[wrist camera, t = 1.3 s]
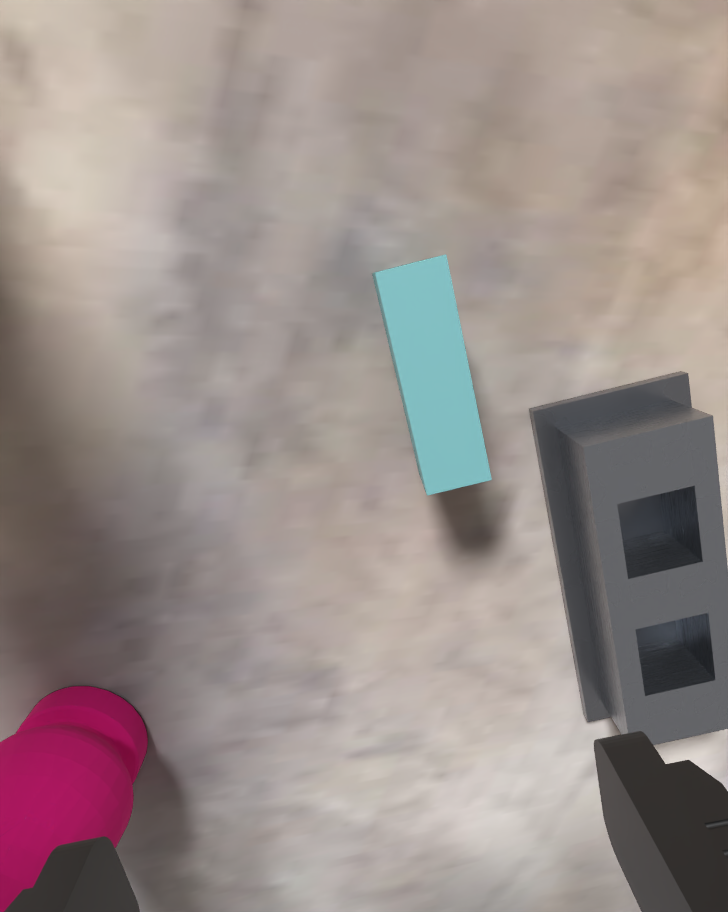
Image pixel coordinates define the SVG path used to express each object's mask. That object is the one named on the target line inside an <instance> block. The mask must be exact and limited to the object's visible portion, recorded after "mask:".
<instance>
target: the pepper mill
mask: <svg viewBox="0 0 728 912" xmlns="http://www.w3.org/2000/svg"><path fill="white" fill-rule="evenodd" d="M147 744H148V739H147V731H146V728H145V725H144V723H143V721H142V718H141V717H140V716H139V714H138V713H137V712H136V710H135V709H134V708H133V706H132V705H130V704H129V703H128V702H127V701H125V700H124V699H123V698H121V697H120V696H118V695H116V694H114V693H112V692H110V691H107V690H103V689H99V688H95V687H91V686H73V687H68V688H64V689H60V690H57V691H55V692H53V693H51V694H49V695H47V696H46V697H44V698H43V699H42V700H40V701H39V702H38V704H37V705H36V706H35V707H34V708H33V710H32V711H31V712H30V714H29V715H28V716H27V718H26V719H25V721H24V722H23V723H22V725H21V726H20V728H19V729H18V731H17V732H16V734H14V735H12V736H10V737H8V738H7V739H5V740H3V741H2V742H0V912H4V911H5V910H6V909H7V907H8V906H9V905H10V904H11V903H12V902H13V901H14V899H15V898H16V897H17V896H18V895H19V894H20V892H21V891H22V890H23V889H28V888H33V886H34V884H35V882H36V880H37V878H38V876H39V874H40V873H41V871H42V869H43V867H44V865H45V863H46V861H47V859H48V857H49V855H50V854H51V852H52V851H53V850H54V849H55V848H56V847H57V846H59V845H62V844H67V843H72V842H77V841H82V840H87V839H92V838H97V837H103V836H105V837H108V838H109V839H110V840H111V841H112V843H113V845H114V848H116V846H117V844H118V842H119V840H120V839H121V837H122V835H123V833H124V831H125V829H126V827H127V825H128V822H129V819H130V817H131V813H132V808H133V786H132V784H133V783H134V781H135V779H136V777H137V774H138V772H139V770H140V767H141V765H142V763H143V760H144V758H145V755H146V752H147Z"/></svg>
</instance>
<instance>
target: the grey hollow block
mask: <svg viewBox="0 0 728 912" xmlns="http://www.w3.org/2000/svg"><path fill="white" fill-rule="evenodd" d="M529 411H530V416H531V422H532V428H533V433H534V439H535V444H536V450H537V456H538V461H539V467H540V472H541V478H542V484H543V489H544V495H545V500H546V506H547V512H548V517H549V523H550V528H551V534H552V540H553V545H554V551H555V556H556V562H557V568H558V573H559V579H560V584H561V590H562V595H563V601H564V607H565V612H566V618H567V623H568V629H569V635H570V640H571V646H572V651H573V657H574V663H575V668H576V674H577V679H578V685H579V691H580V696H581V702H582V707H583V713H584V716H585V718H586V719H587V721H588V722H591V721H595V720H600V719H604V718H608V717H611V718H612V719H613V721H614V723H615V724H616V726H617V728H618V729H619V731H620V733H621V734H627V733H632V732H637V731H642V732H643V733H645V734H646V736H647V737H648V738H649V740H650V741H651V743H652V744H653V745H656V744H660V743H665V742H669V741H674V740H679V739H683V738H688V737H692V736H697V735H701V734H706V733H710V732H715V731H719V730H724V729H728V568H727V558H726V547H725V537H724V527H723V516H722V506H721V495H720V485H719V475H718V464H717V454H716V443H715V433H714V423H713V416H712V415H710V414H707V413H704V412H702V411H699V410H696V409H694V408H692V406H691V396H690V387H689V377H688V373H685V372H682V371H680V372H676V373H672V374H668V375H664V376H660V377H656V378H652V379H648V380H644V381H640V382H636V383H632V384H628V385H624V386H619V387H615V388H611V389H607V390H603V391H599V392H595V393H591V394H587V395H583V396H579V397H575V398H571V399H567V400H563V401H559V402H555V403H551V404H546V405H542V406H538V407H534V408H530V409H529Z"/></svg>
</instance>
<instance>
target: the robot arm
mask: <svg viewBox="0 0 728 912" xmlns="http://www.w3.org/2000/svg"><path fill="white" fill-rule="evenodd" d="M594 752H595V759H596V766H597V773H598V781H599V788H600V795H601V802H602V809H603V816H604V820H605V824H606V828H607V832H608V835H609V838H610V841H611V844H612V847H613V850H614V852H615V855H616V857H617V859H618V862H619V864H620V866H621V868H622V870H623V872H624V875H625V877H626V879H627V881H628V883H629V885H630V887H631V890H632V892H633V894H634V896H635V898H636V900H637V903H638V905H639V907H640V909H641V911H642V912H728V791H727V790H726V789H725V787H724V786H723V784H722V783H720V782H719V781H718V780H716V779H715V778H713V777H712V776H711V775H709V774H708V773H706V772H705V771H704V770H702V769H701V768H699V767H698V766H697V765H695V764H694V763H692V762H691V761H690V760H685V761H680V762H675V763H670V764H665V763H664V761H663V760H662V758H661V757H660V755H659V754H658V752H657V750H656V749H655V747H654V746H653V744H652V743H651V741H650V740H649V738H648V737H647V736H646V734H645V733H643V732H642V731H637V732H632V733H627V734H622V735H617V736H612V737H607V738H602V739H597V740H595V741H594ZM4 912H140V910H139V906H138V903H137V900H136V897H135V895H134V893H133V890H132V888H131V886H130V883H129V881H128V878H127V876H126V874H125V871H124V869H123V867H122V864H121V862H120V859H119V857H118V855H117V852H116V850H115V848H114V845H113V843H112V841H111V840H110V839H109V838H108V837H105V836H103V837H97V838H92V839H87V840H82V841H77V842H72V843H67V844H62V845H59V846H57V847H56V848H55V849H54V850H53V851H52V852H51V854H50V855H49V857H48V859H47V861H46V863H45V865H44V867H43V869H42V871H41V873H40V874H39V876H38V878H37V880H36V882H35V884H34V886H33V888H28V889H23V890H22V891H21V892H20V894H19V895H18V896H17V897H16V898H15V899H14V901H13V902H12V903H11V904H10V905H9V906H8V907H7V909H6V910H5V911H4Z"/></svg>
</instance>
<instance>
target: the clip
mask: <svg viewBox="0 0 728 912" xmlns="http://www.w3.org/2000/svg"><path fill="white" fill-rule="evenodd" d="M372 275H373V279H374V283H375V288H376V292H377V296H378V300H379V305H380V309H381V313H382V317H383V322H384V326H385V330H386V334H387V339H388V343H389V347H390V351H391V356H392V360H393V364H394V368H395V373H396V377H397V381H398V385H399V390H400V394H401V398H402V402H403V407H404V411H405V415H406V419H407V424H408V428H409V432H410V436H411V441H412V445H413V449H414V453H415V458H416V462H417V466H418V470H419V475H420V477H421V480H422V483H423V486H424V488H425V491H426V494H427V495H431V494H435V493H440V492H444V491H448V490H452V489H456V488H460V487H464V486H468V485H473V484H477V483H481V482H485V481H489V480H492V479H491V474H490V469H489V464H488V459H487V454H486V449H485V444H484V439H483V434H482V429H481V424H480V419H479V414H478V409H477V404H476V399H475V394H474V390H473V385H472V380H471V375H470V370H469V365H468V360H467V355H466V350H465V345H464V340H463V335H462V330H461V325H460V320H459V315H458V310H457V305H456V300H455V295H454V291H453V286H452V281H451V276H450V271H449V266H448V261H447V256H446V255H442V256H438V257H434V258H430V259H426V260H422V261H418V262H414V263H410V264H406V265H402V266H398V267H395V268H391V269H387V270H383V271H379V272H375V273H372Z"/></svg>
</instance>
